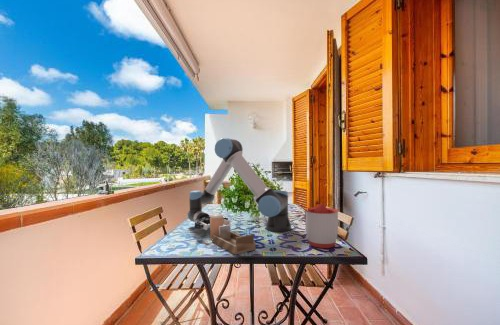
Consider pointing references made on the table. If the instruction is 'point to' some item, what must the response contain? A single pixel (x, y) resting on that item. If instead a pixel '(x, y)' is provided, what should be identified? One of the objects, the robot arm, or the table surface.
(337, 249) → the table surface
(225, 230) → the pusher
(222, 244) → the tray
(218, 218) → the jar
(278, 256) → the table surface
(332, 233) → the citrus juicer
